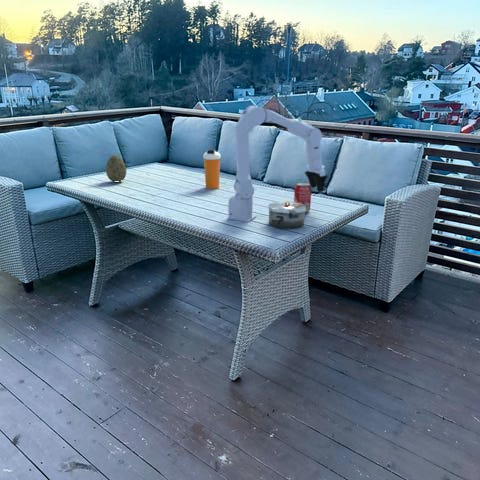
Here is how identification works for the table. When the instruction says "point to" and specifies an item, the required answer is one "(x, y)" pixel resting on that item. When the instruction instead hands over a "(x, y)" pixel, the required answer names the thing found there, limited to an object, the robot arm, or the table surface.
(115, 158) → the decorative egg
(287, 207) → the lid
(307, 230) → the table surface
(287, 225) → the cooker pot
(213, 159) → the shaker bottle
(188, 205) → the table surface
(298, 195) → the soda can
